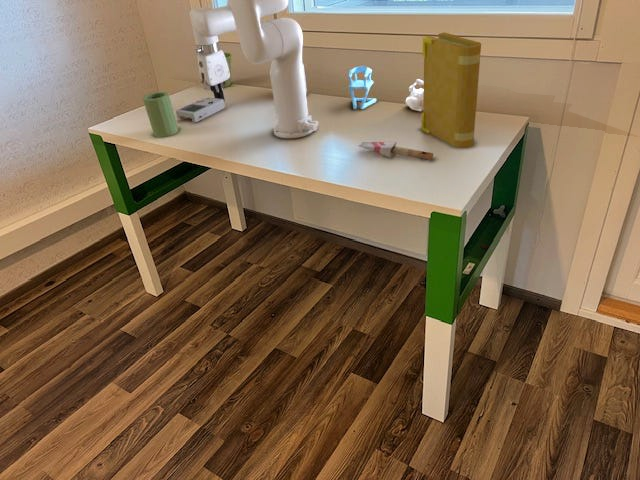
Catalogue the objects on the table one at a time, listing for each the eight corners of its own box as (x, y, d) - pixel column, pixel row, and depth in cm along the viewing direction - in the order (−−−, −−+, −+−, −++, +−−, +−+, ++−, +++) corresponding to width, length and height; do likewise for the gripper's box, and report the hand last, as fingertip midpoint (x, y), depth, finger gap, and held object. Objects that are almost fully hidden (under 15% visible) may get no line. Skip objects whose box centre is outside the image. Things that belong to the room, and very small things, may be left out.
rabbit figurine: (444, 107, 151) (446, 76, 146) (434, 116, 147) (435, 83, 141) (410, 103, 158) (410, 72, 152) (398, 111, 153) (398, 80, 148)
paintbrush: (363, 136, 132) (435, 148, 123) (363, 145, 134) (434, 158, 125) (357, 141, 129) (429, 154, 121) (357, 151, 131) (428, 164, 122)
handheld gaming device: (226, 109, 172) (223, 98, 170) (196, 124, 162) (193, 113, 160) (208, 106, 176) (205, 96, 174) (177, 121, 167) (174, 110, 165)
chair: (346, 109, 159) (343, 71, 152) (354, 100, 165) (352, 64, 159) (369, 110, 157) (367, 72, 150) (376, 101, 163) (375, 64, 156)
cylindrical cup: (183, 129, 159) (173, 93, 153) (164, 138, 154) (153, 101, 148) (168, 126, 163) (157, 90, 157) (149, 135, 158) (137, 98, 152)
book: (421, 129, 139) (422, 37, 125) (441, 123, 141) (444, 32, 127) (457, 150, 126) (463, 49, 112) (479, 143, 128) (487, 43, 114)
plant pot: (223, 91, 190) (217, 61, 183) (201, 88, 195) (195, 59, 189) (243, 81, 197) (238, 53, 191) (221, 79, 203) (215, 51, 197)
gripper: (199, 55, 157) (212, 110, 168) (232, 43, 167) (242, 96, 177) (184, 53, 161) (197, 107, 172) (216, 42, 171) (227, 94, 181)
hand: (220, 101), depth 174 cm, fingers closed
